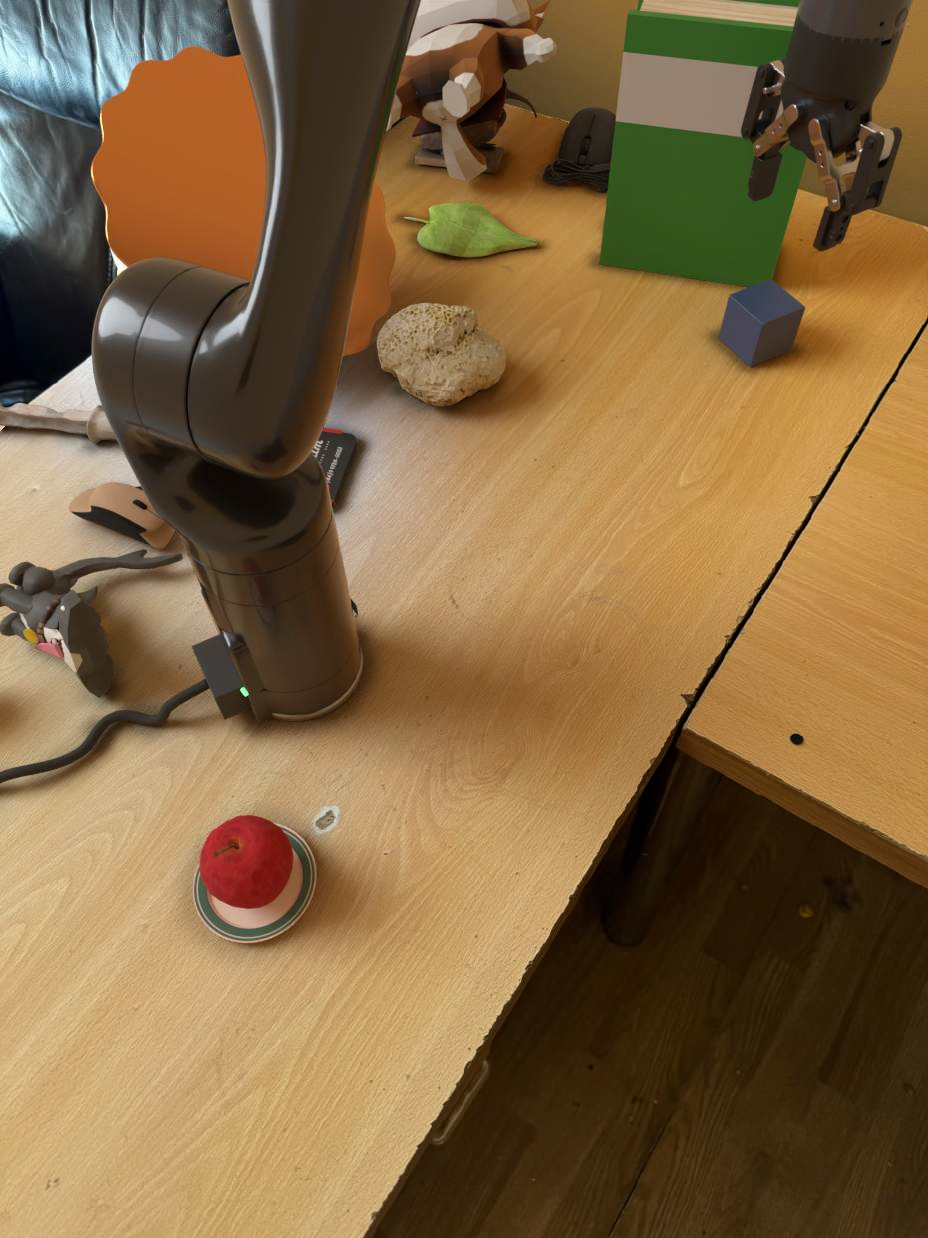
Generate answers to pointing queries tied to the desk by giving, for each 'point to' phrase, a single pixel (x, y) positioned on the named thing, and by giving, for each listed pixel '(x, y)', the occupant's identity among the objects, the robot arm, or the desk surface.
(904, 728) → the desk surface
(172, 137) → the orange scalloped disc
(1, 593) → the toy monster
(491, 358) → the decorative item
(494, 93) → the toy
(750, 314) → the cube
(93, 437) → the carved wooden stick
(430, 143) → the figurine
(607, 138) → the computer mouse
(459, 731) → the desk surface
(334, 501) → the black flat block
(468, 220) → the leaf
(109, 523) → the computer mouse
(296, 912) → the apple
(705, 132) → the hardback book
